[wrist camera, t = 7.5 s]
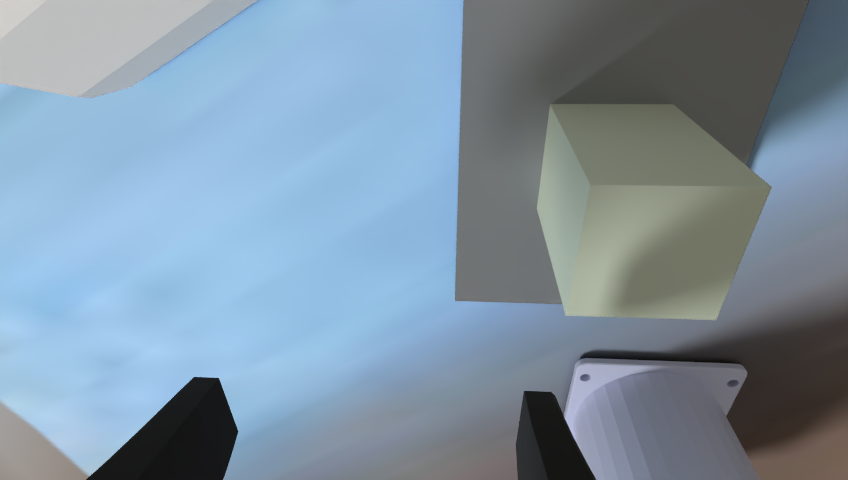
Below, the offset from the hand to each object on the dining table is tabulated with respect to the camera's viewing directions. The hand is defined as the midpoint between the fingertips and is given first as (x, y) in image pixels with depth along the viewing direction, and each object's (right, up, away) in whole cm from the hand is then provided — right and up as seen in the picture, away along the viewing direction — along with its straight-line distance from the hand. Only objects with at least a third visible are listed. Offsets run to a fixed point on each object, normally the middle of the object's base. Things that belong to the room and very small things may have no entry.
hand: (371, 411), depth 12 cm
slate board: (+8, +8, +6) cm, 12 cm away
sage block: (+7, +7, +6) cm, 12 cm away
